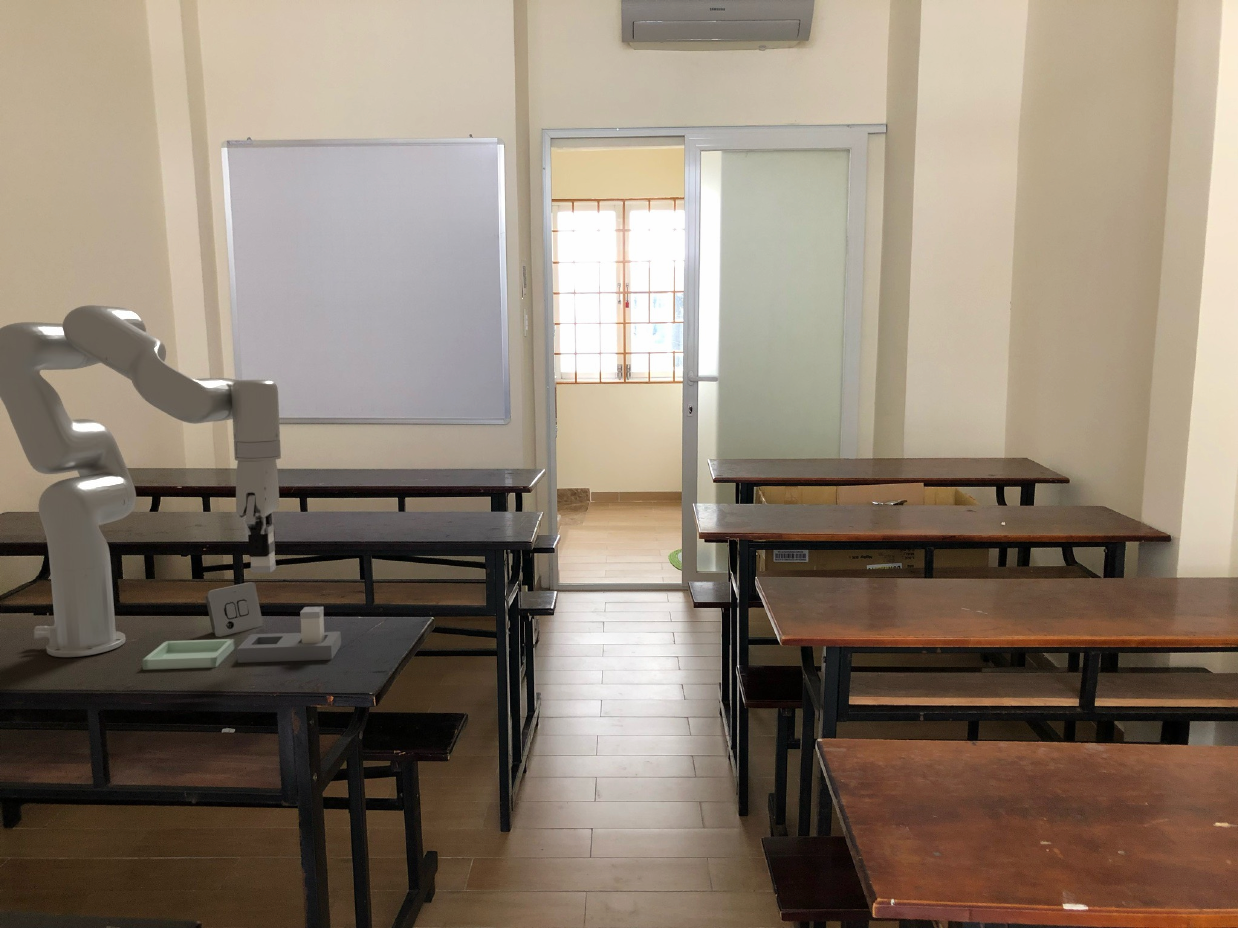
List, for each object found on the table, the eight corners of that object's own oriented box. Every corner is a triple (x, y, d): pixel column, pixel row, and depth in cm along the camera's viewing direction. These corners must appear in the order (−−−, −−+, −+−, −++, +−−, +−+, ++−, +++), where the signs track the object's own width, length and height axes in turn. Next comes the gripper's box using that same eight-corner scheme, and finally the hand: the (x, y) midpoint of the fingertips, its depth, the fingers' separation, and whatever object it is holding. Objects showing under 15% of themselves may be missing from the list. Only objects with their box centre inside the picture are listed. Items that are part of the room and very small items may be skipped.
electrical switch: (218, 639, 170) (213, 591, 169) (205, 637, 173) (200, 589, 173) (264, 628, 177) (259, 582, 177) (250, 625, 180) (246, 580, 180)
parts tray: (143, 672, 153) (142, 659, 152) (166, 652, 162) (165, 641, 162) (216, 669, 154) (215, 657, 154) (234, 650, 164) (234, 638, 163)
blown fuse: (251, 573, 157) (248, 528, 156) (256, 568, 160) (254, 524, 159) (270, 572, 157) (268, 527, 156) (275, 568, 160) (273, 524, 159)
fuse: (302, 655, 159) (300, 612, 158) (306, 649, 163) (304, 606, 162) (321, 655, 160) (319, 611, 159) (325, 649, 163) (323, 606, 162)
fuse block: (237, 665, 156) (237, 648, 156) (251, 649, 164) (250, 634, 164) (331, 661, 158) (331, 645, 157) (341, 647, 166) (340, 631, 165)
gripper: (249, 446, 164) (254, 544, 166) (219, 456, 147) (224, 565, 150) (292, 445, 164) (296, 543, 167) (266, 456, 148) (271, 564, 150)
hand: (262, 552), depth 158 cm, fingers closed on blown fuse, 3 cm apart
